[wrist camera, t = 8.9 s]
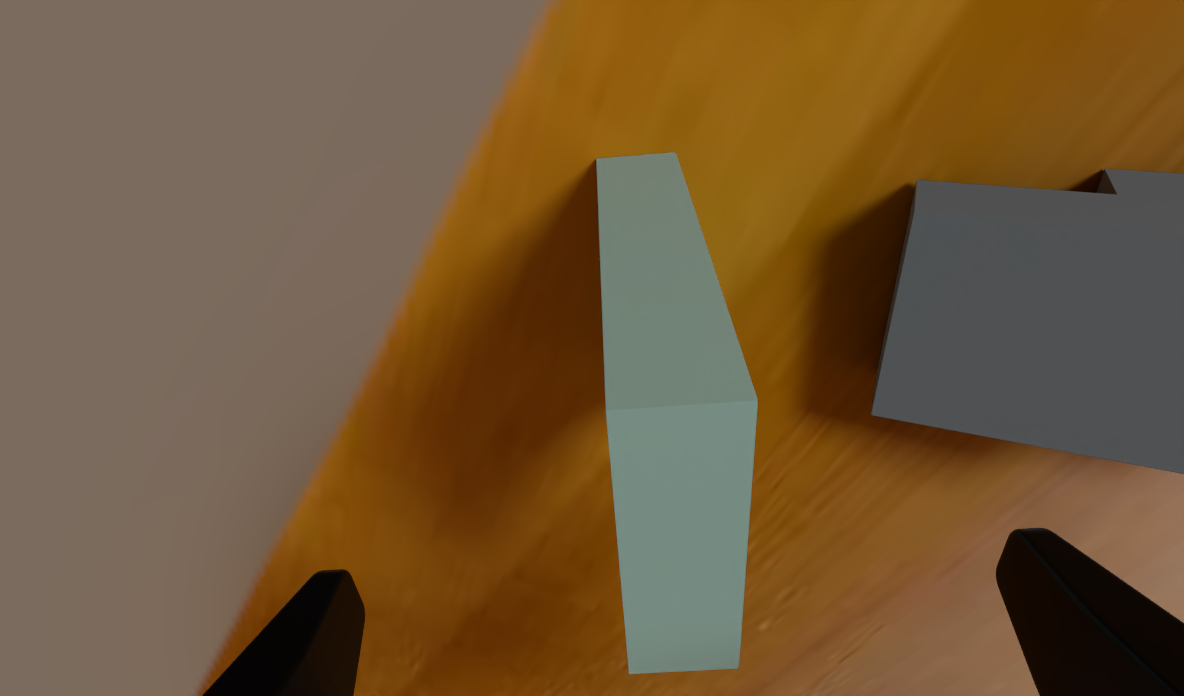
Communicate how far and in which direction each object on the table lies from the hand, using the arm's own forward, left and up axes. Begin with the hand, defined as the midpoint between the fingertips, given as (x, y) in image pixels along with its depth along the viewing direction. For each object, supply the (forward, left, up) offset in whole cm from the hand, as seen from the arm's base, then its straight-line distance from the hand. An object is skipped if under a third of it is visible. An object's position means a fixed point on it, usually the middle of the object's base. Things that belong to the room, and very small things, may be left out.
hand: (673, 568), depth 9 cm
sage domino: (+1, 0, -8) cm, 8 cm away
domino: (+2, -5, -7) cm, 9 cm away
